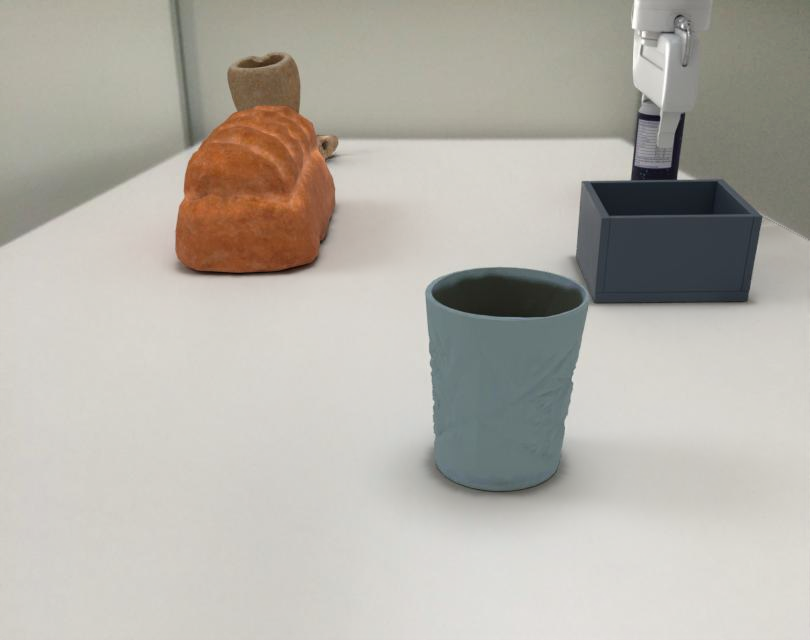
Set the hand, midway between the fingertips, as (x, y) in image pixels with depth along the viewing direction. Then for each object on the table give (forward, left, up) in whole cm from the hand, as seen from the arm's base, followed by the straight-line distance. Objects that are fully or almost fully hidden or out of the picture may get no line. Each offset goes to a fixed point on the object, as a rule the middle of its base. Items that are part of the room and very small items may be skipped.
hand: (656, 139), depth 119 cm
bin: (+5, +30, -8) cm, 31 cm away
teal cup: (+23, +69, -8) cm, 73 cm away
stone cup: (+51, -28, -8) cm, 58 cm away
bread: (+48, +12, -8) cm, 50 cm away
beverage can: (0, 0, -8) cm, 8 cm away
